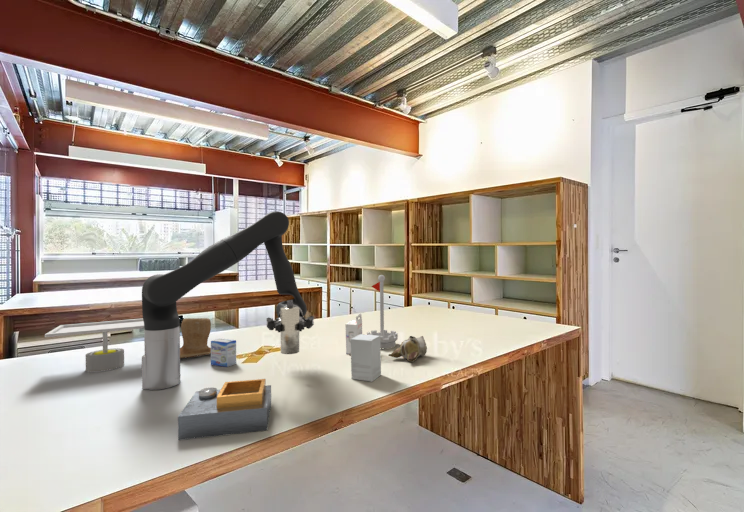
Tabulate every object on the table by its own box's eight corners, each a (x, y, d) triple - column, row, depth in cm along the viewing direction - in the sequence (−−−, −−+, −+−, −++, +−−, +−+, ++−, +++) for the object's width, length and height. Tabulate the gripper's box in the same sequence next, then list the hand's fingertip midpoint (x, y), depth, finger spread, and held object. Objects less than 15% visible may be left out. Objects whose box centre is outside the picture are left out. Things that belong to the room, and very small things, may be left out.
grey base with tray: (178, 440, 75) (177, 404, 75) (196, 411, 89) (196, 381, 89) (267, 430, 79) (266, 396, 79) (271, 404, 92) (271, 375, 92)
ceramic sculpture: (434, 333, 133) (408, 343, 122) (435, 356, 133) (410, 368, 122) (411, 330, 140) (385, 339, 130) (412, 351, 141) (387, 362, 130)
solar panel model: (45, 382, 110) (44, 334, 110) (61, 367, 126) (60, 324, 125) (150, 368, 124) (149, 325, 124) (153, 355, 139) (152, 317, 139)
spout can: (280, 354, 95) (280, 302, 95) (281, 349, 100) (280, 299, 100) (299, 353, 96) (299, 301, 96) (299, 348, 101) (299, 299, 101)
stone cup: (211, 349, 147) (211, 313, 147) (215, 356, 137) (214, 317, 136) (169, 355, 139) (168, 317, 139) (170, 363, 129) (169, 322, 129)
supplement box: (381, 374, 114) (381, 335, 114) (372, 382, 108) (371, 340, 108) (361, 371, 117) (360, 333, 117) (350, 379, 111) (349, 338, 111)
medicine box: (210, 365, 127) (209, 340, 126) (220, 361, 131) (219, 337, 131) (227, 367, 124) (227, 342, 124) (236, 363, 128) (236, 339, 128)
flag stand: (403, 344, 153) (402, 274, 152) (388, 351, 142) (387, 276, 141) (377, 340, 160) (376, 273, 159) (360, 347, 149) (360, 275, 148)
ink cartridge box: (351, 348, 147) (350, 312, 147) (362, 348, 146) (362, 313, 146) (345, 354, 138) (344, 316, 138) (357, 354, 137) (357, 316, 137)
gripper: (267, 306, 110) (261, 315, 94) (313, 304, 113) (317, 313, 97) (267, 330, 110) (262, 343, 94) (314, 328, 113) (317, 340, 97)
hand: (289, 328), depth 95 cm, fingers closed on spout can, 5 cm apart
